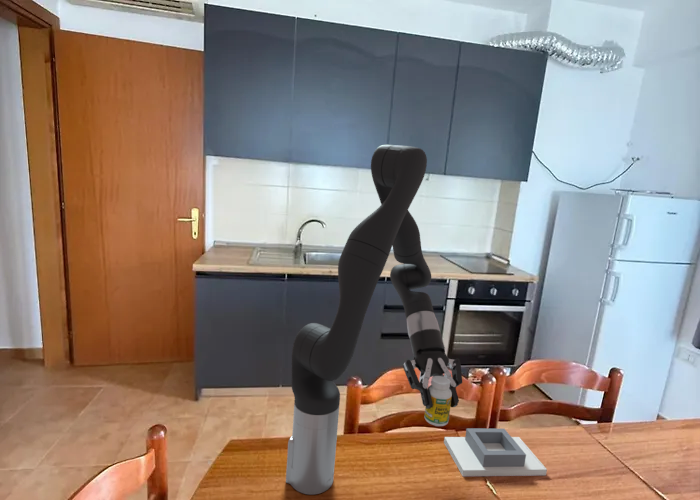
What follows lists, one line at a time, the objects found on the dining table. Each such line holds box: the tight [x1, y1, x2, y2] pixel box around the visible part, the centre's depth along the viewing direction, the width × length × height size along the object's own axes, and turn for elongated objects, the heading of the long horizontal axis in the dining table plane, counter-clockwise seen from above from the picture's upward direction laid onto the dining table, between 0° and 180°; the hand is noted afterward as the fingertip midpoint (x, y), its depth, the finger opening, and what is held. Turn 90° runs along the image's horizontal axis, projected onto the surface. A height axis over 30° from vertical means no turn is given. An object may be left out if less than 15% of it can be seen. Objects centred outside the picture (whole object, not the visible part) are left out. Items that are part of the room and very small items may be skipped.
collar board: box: [443, 427, 548, 477], centre depth 96 cm, size 20×12×4 cm, turn 97°
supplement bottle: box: [423, 376, 452, 427], centre depth 89 cm, size 5×5×10 cm
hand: (442, 406), depth 87 cm, fingers closed on supplement bottle, 5 cm apart
